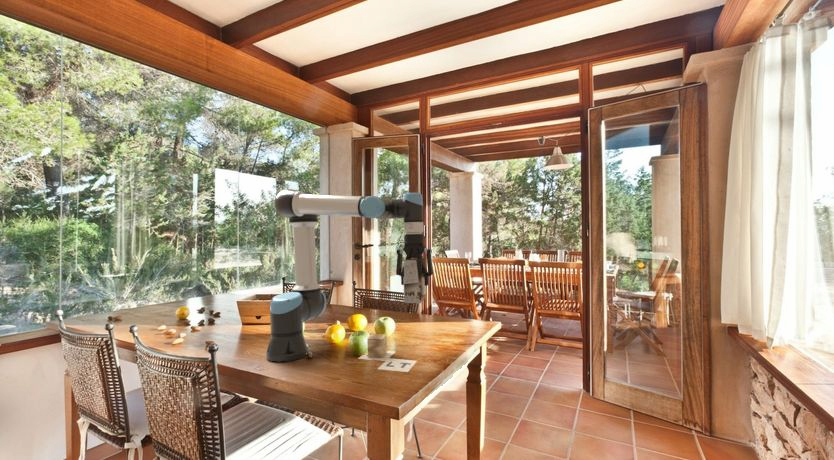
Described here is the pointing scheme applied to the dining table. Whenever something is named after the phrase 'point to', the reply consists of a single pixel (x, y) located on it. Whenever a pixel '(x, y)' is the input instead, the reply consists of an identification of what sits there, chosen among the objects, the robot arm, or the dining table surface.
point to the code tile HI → (387, 356)
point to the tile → (397, 365)
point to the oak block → (377, 345)
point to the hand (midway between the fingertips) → (415, 293)
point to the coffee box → (413, 281)
